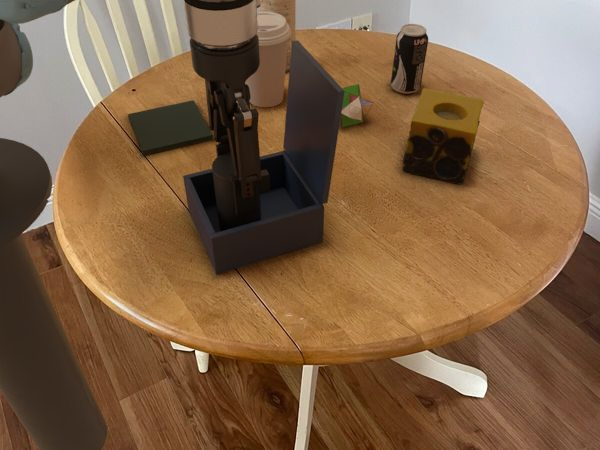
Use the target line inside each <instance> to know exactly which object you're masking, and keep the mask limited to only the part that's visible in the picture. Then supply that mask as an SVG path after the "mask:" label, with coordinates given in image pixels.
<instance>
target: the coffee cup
mask: <svg viewBox="0 0 600 450" xmlns="http://www.w3.org/2000/svg"><path fill="white" fill-rule="evenodd" d="M257 23H258V30H257V33H256V34H257V36H258V38H259V57H260V64H259V68H258V70H257V71H256V72H255V73H254V74H253V75H251V76H250V77H249V78H248V79H247V80H246V82H245V84H248V86H249V90H250V96H251V98H250V101H249V103H250V104H252V105H253V106H255V107H258V108H272V107H276V106H279V105H280V104H281V103H282V102H283V100H284V92H285V80H286V79H285V78H286V72H285V68H286V55H287V44H288V38H289V37H290V35H291V30H290V27H289V25H288V23H287V22H286V19H285V18H284V17H283V16H282V15H280V14H277V13H274V12H267V11H261V12H260V11H257Z"/></svg>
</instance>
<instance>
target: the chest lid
mask: <svg viewBox="0 0 600 450" xmlns="http://www.w3.org/2000/svg"><path fill="white" fill-rule="evenodd" d="M288 72H289V74H288V85H287V97H286V99H287V100H286V110H285V121H284V122H285V123H284V135H283V146H282V147H283V151H286V152H287V154H288V155H289V157H290V158H291V160H292V161H293V163H294V164H295V166H296V167H297V168H298V170H299V171H300V173H301V174H302V176H303V177H304V179H305V180H306V181H307V183H308V184H309V186H310V187H311V189H312V190H313V192H314V193H315V195H316V196H317V197H318V199H319V200H320V202H321V203H322V204H323V205H325V204H327V203H329V196H330V190H331V184H332V177H333V171H334V164H335V157H336V150H337V143H338V137H339V131H340V126H341V119H342V118H341V112H342V105H343V99H344V92H345V91H344V90H343V89H342V88H343V87H342V86H341V85H340V84H339V82H337V81H336V80H335V79H334V78H333V77H332V76H331V74H330V73H328V71H327V70H326V69H325V68H324V67H323V66H322V64H321V63H320V62H319V61H318V60H317V59H316V58H315V57H314V56H313V55H312V54H311V53H310V52H309V50H308V49H306V48H305V46H304V45H303V44H302V43H301V42H300V41H299V39H298V40H295V41H292V47H291V59H290V71H288Z"/></svg>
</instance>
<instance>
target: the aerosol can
mask: <svg viewBox="0 0 600 450" xmlns="http://www.w3.org/2000/svg"><path fill="white" fill-rule="evenodd" d="M260 1H261V6H260V7H259V12H261V11H267V12H274V13H277V14H280V15H282V16H283V17H284V18H285V19H286V22H287V23H288V25H289V27H290V30H291V35H290V37H289V38H288V44H287V55H286V68H285V73H288V72H289V71H290V59H291V47H292V41H296V12H297V11H296V6H297V5H296V4H297V3H296V0H260Z"/></svg>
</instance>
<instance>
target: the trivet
mask: <svg viewBox="0 0 600 450" xmlns="http://www.w3.org/2000/svg"><path fill="white" fill-rule="evenodd" d="M127 117H128V120H129V122H130V126H131V127H132V130H133V133H134V135H135V138H136V140H137V143H138V145H139V148H140V151H141V154H142V156H145V157H146V156H149V155H153V154H157V153H162V152H166V151H170V150H174V149H179V148H183V147H187V146H191V145H195V144H200V143H204V142H209V141H212V140H213V141H214V136H213V135H214V133H212V131H211V130H210V128H209V124H207V122H206V120H205V119H204V117H203V115H202V113H201V111H200V109H199V107H198V106H197V104H196V102H195V100H188V101H184V102H178V103H173V104H169V105H164V106H159V107H155V108H150V109H145V110H139V111H136V112H131V113H127Z"/></svg>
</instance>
